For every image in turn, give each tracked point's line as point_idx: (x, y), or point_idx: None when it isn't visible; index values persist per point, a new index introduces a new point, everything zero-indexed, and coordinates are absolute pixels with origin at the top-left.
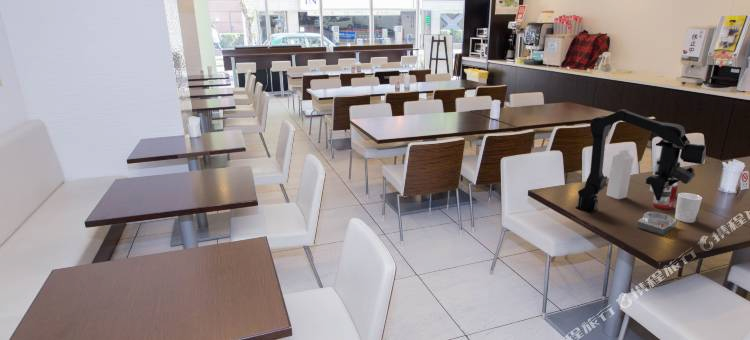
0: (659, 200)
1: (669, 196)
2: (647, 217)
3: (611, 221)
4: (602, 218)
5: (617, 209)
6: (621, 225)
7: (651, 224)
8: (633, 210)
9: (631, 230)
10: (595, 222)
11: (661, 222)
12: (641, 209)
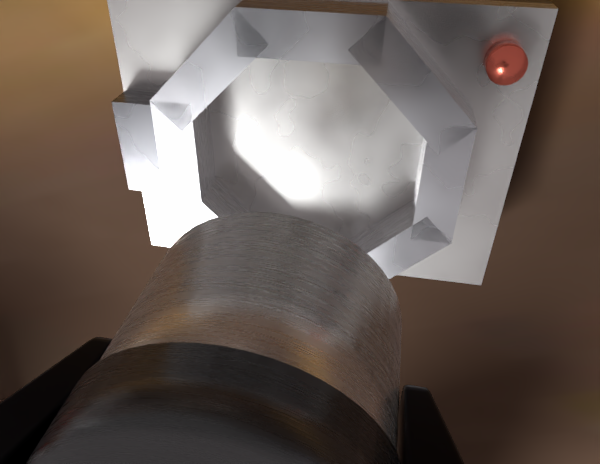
0: (428, 393)
1: (245, 357)
2: (433, 250)
3: (479, 386)
4: (461, 431)
5: None
6: (518, 326)
7: (512, 162)
8: (112, 327)
9: (594, 249)
10: (586, 449)
11: (451, 91)
12: (37, 294)
